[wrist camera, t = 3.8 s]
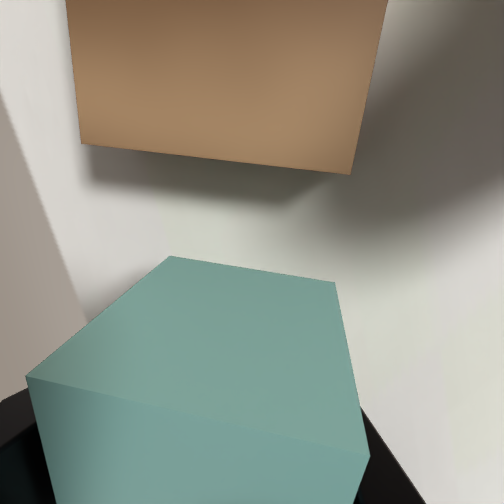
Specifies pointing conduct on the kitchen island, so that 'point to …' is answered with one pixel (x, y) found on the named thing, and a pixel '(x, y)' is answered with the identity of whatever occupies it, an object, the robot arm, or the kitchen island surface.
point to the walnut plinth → (226, 77)
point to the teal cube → (205, 394)
